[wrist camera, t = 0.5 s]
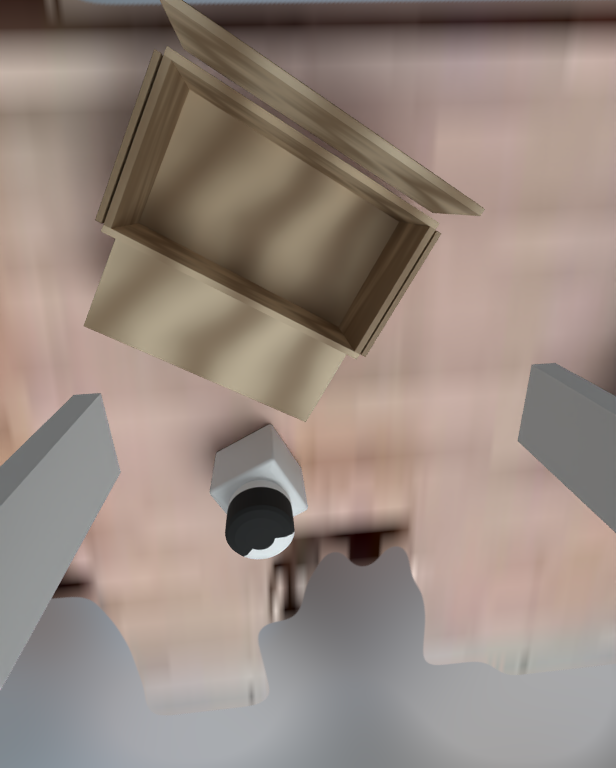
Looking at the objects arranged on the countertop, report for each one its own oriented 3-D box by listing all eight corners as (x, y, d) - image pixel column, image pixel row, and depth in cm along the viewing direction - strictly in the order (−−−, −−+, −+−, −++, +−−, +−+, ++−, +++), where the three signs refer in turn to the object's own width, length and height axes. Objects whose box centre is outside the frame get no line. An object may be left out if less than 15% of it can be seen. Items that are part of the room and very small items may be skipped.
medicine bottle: (214, 452, 46) (201, 530, 35) (270, 421, 45) (275, 491, 34) (249, 496, 49) (246, 581, 38) (302, 468, 48) (315, 547, 37)
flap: (436, 206, 30) (485, 208, 24) (432, 212, 31) (480, 216, 24) (186, 40, 25) (161, -16, 19) (183, 49, 25) (158, -4, 19)
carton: (410, 222, 39) (445, 227, 31) (311, 391, 44) (321, 429, 37) (179, 75, 32) (157, 39, 25) (98, 294, 38) (61, 316, 31)
